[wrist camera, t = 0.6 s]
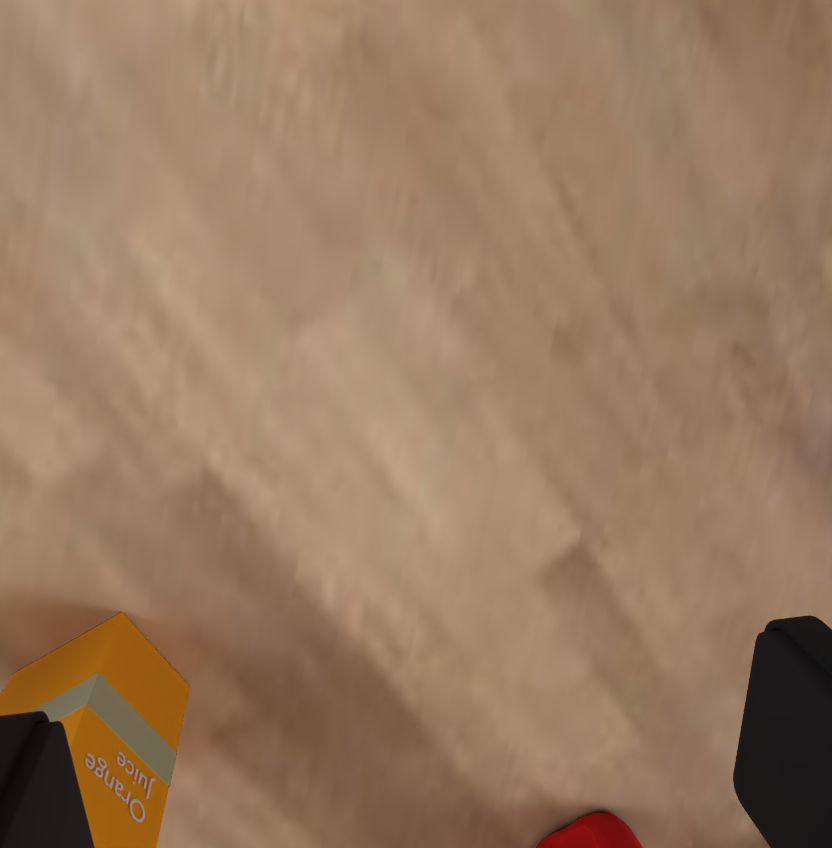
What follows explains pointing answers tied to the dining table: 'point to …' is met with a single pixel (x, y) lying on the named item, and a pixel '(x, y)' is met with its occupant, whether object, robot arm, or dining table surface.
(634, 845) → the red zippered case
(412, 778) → the dining table surface
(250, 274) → the dining table surface
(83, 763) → the orange juice
